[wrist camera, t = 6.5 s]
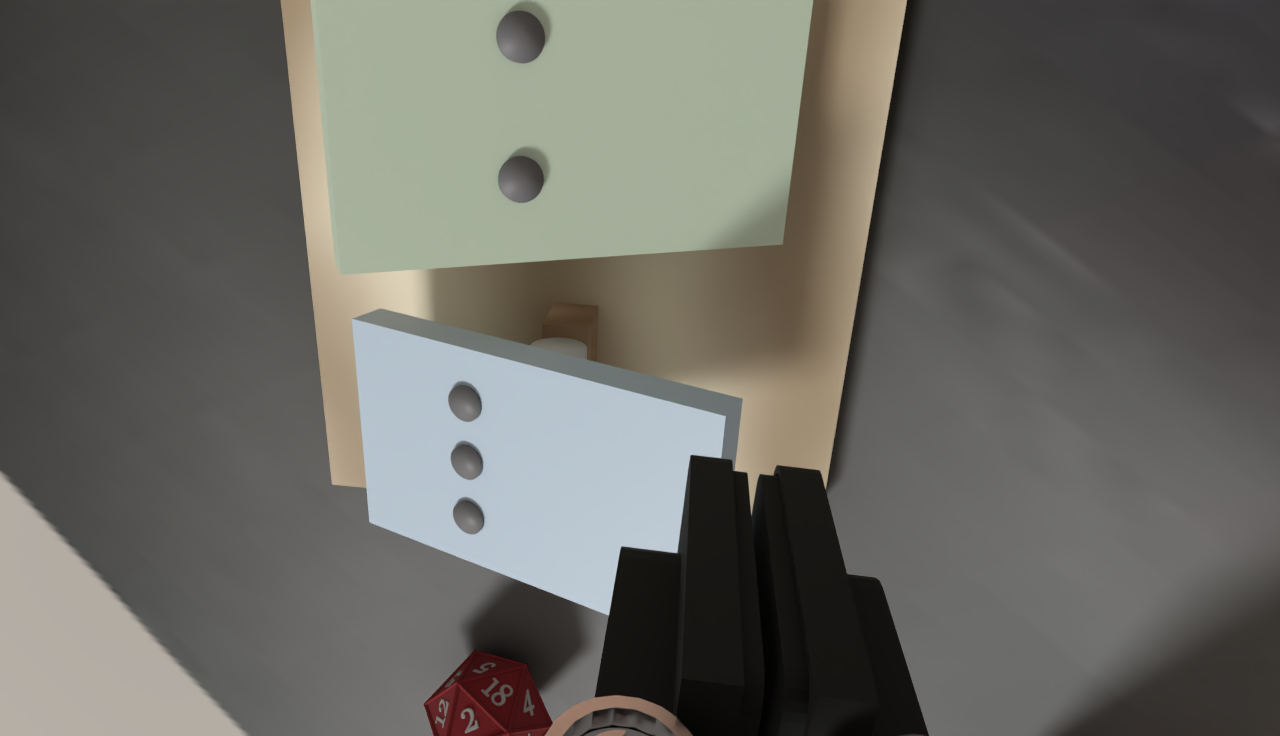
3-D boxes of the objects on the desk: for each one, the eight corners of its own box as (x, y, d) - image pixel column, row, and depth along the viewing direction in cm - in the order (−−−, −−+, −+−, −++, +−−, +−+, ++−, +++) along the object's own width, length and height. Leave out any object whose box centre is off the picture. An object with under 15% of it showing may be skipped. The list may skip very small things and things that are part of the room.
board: (980, -520, 16) (1035, -634, 13) (814, 508, 25) (826, 566, 23) (251, -536, 17) (162, -645, 14) (348, 465, 26) (305, 516, 24)
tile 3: (764, 376, 18) (723, 418, 16) (737, 593, 21) (698, 654, 19) (417, 295, 22) (347, 320, 20) (427, 483, 25) (366, 524, 22)
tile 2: (755, -32, 19) (821, -36, 17) (730, 222, 21) (785, 245, 19) (295, -77, 15) (308, -89, 13) (326, 243, 17) (342, 276, 15)
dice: (559, 721, 30) (537, 818, 26) (440, 700, 30) (401, 795, 26) (569, 641, 28) (547, 732, 25) (444, 620, 28) (403, 707, 25)
